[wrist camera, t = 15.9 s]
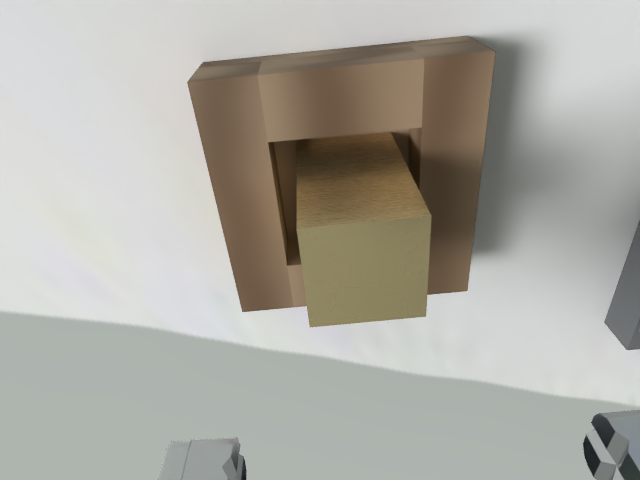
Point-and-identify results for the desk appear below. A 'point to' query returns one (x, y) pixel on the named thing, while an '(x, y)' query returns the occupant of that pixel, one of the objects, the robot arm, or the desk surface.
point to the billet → (360, 231)
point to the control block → (627, 300)
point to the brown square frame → (338, 121)
